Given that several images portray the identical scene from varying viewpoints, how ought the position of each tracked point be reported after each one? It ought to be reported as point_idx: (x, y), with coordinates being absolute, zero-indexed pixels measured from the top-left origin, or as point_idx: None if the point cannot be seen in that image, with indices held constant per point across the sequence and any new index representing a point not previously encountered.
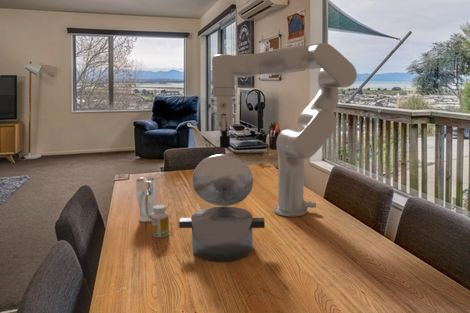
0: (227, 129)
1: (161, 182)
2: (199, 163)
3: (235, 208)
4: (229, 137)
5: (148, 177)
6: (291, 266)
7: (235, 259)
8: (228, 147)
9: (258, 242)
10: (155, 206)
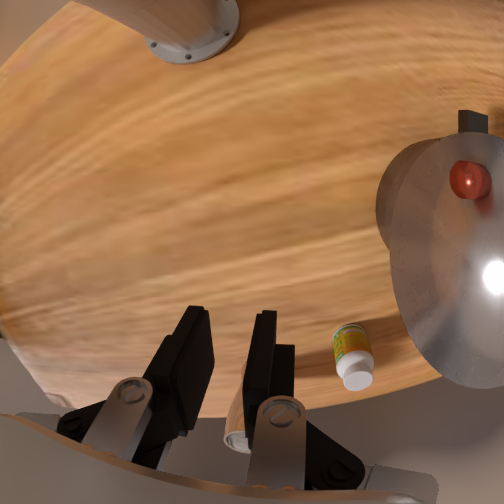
0: (303, 479)
1: (50, 352)
2: (491, 386)
3: None
4: (177, 359)
5: (225, 439)
6: (498, 87)
7: None
8: (276, 316)
9: (415, 121)
10: (355, 387)
